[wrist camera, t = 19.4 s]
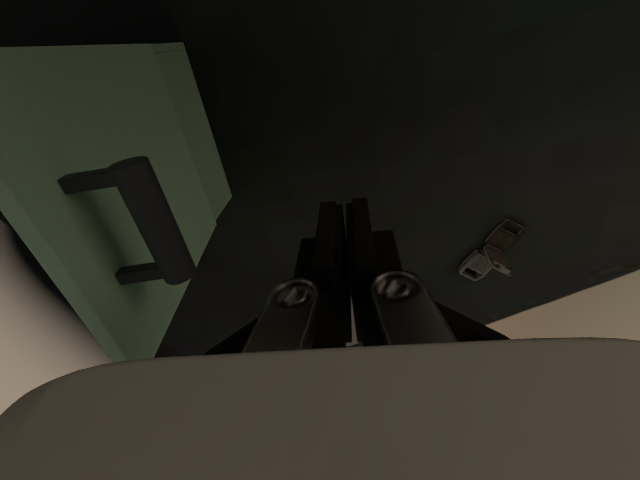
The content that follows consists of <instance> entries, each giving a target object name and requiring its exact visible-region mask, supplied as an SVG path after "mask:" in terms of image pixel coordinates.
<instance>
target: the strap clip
mask: <svg viewBox="0 0 640 480" xmlns="http://www.w3.org/2000/svg"><path fill="white" fill-rule="evenodd" d="M507 223H510V224H512V225H514V226H516V227H518V228H520V229H521V230H520V231H519V232H518V233H517V234H516V235H514V234H512V233H511V232H509V231H507V230H505V229H503V227H504V226H505V225H506V224H507ZM525 231H526V229H525V228H524V227H523V226H521V225H519V224H517V223H515V222H514V221H512V220H509V219H507V220H505V221H503V222H502V223H500V224H499V225H498V226H497V227H496V228H495V229H494V230H493V232H492V233H491V234H490V235H489V236H488V237H487V239H486V240H485V241H486V243H485V244H486V245H485V246H484V247H483V250H484V251H483V250H481V249H480V250H475V251H474V252H473V253H472V254H471V255H470V256H468V257H467V258H466V259H465V260H464V261H463V262H462V264H461V265H460V267H459V269H458V271H459V273H460V274H461V275H463V276H465V277H467V278H469V279H471V280H473V281H477V280H479V279H481V278H482V277H484V276H485V275H486V274H487V273H488V272H489V271H490V269H491V268H492V267H493V268H494V269H496V270H498V271H500V272H502V273H504V274H506V275H508V276H511V275H512V271H511V268H510V266H509V264H508V262H507V260H506V258H505V256H504V254H503V253H502V252H505V251H506V250H507V249H508V248H510V247H511V246H512V245H513V244H514V243H515V242H516V241H518V240H519V239H520V238H521V237H522V235H523V234H524V233H525ZM495 264H497V265H499V266H501V267H498V266H496V265H495ZM466 268H469V269H471V270H473V271H475V272H477V273H476V274H475V275H474V276H473V275H471V274H469V273H467V272H465V271H464V270H465V269H466Z"/></svg>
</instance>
